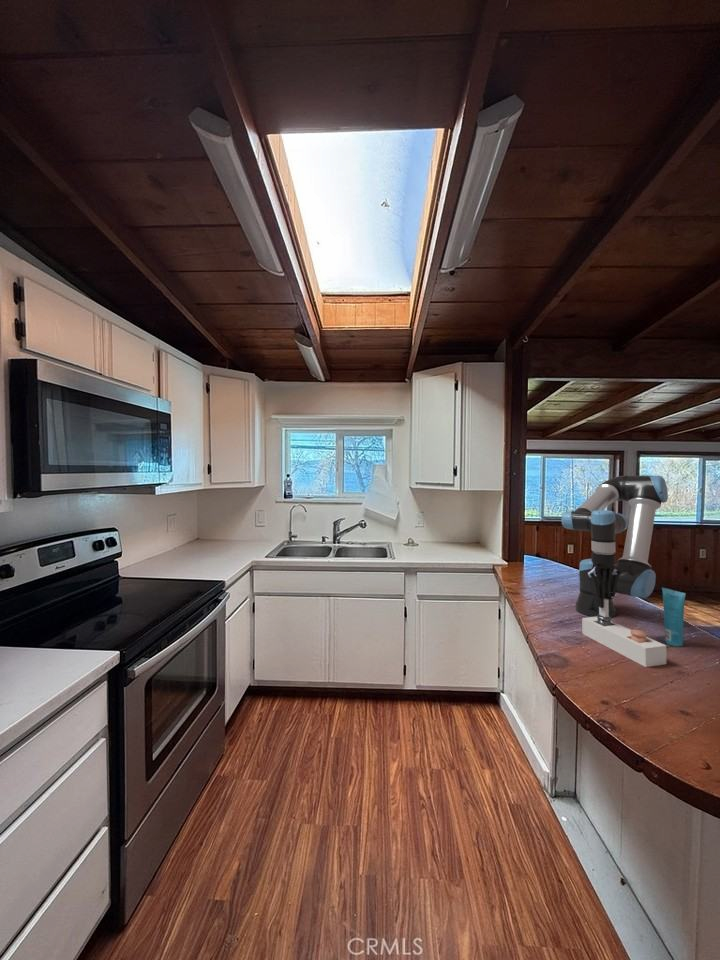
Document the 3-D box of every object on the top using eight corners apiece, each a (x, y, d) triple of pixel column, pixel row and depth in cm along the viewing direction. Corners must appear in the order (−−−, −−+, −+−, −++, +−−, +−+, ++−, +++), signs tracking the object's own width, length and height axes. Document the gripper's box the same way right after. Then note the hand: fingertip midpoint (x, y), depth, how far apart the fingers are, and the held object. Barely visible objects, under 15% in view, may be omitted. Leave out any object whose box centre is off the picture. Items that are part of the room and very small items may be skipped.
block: (600, 631, 148) (600, 616, 148) (666, 664, 122) (666, 645, 122) (582, 633, 146) (582, 618, 146) (645, 667, 121) (645, 648, 120)
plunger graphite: (604, 633, 144) (604, 613, 143) (614, 637, 139) (614, 618, 139) (594, 634, 143) (594, 614, 143) (604, 639, 138) (603, 619, 138)
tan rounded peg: (638, 649, 130) (638, 628, 130) (650, 655, 126) (650, 633, 125) (627, 651, 129) (627, 629, 129) (639, 657, 125) (639, 635, 125)
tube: (689, 646, 134) (689, 592, 133) (682, 649, 132) (682, 594, 131) (665, 638, 141) (664, 586, 140) (658, 641, 138) (657, 588, 138)
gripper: (609, 549, 145) (610, 610, 146) (580, 551, 143) (580, 614, 143) (627, 553, 138) (627, 618, 138) (596, 555, 135) (597, 621, 136)
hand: (603, 615), depth 141 cm, fingers closed
